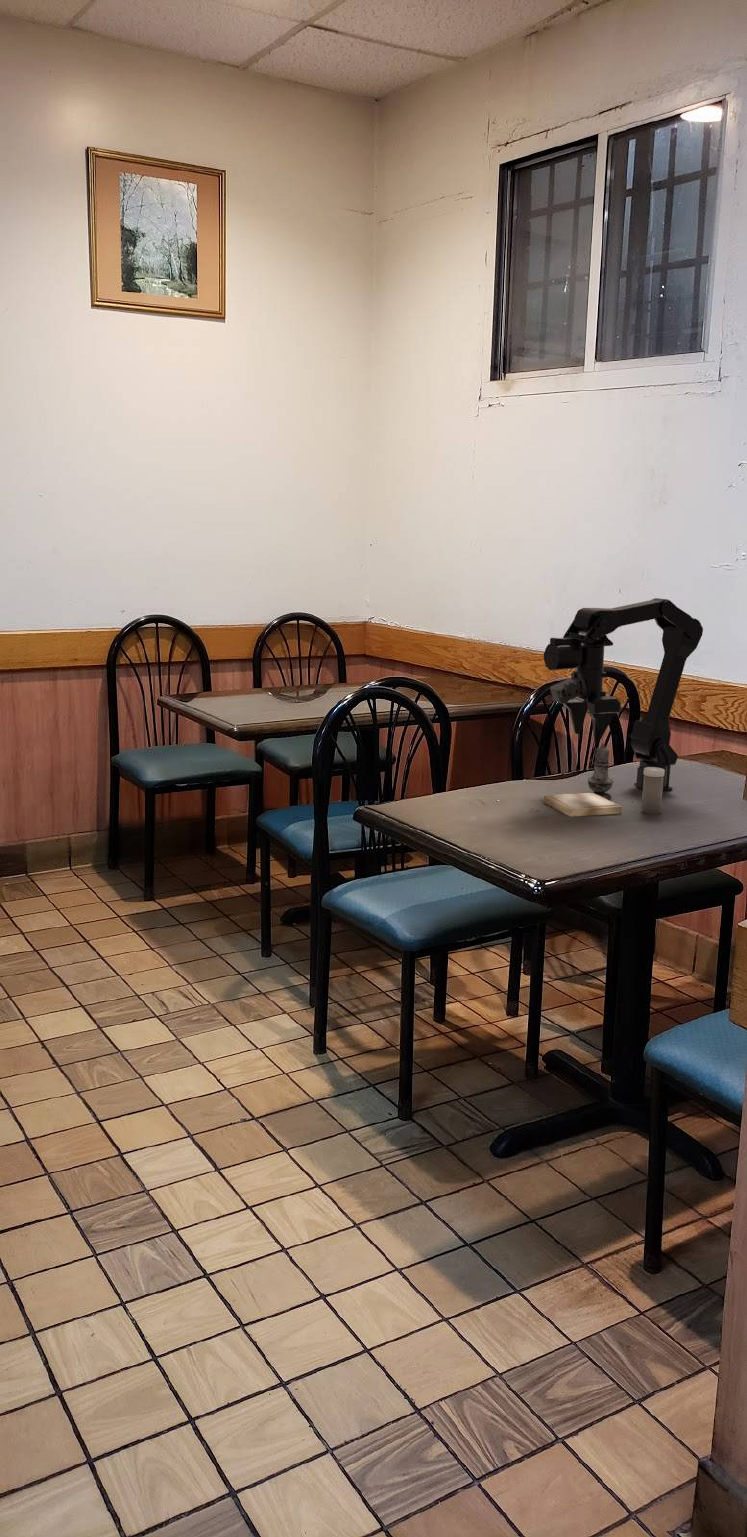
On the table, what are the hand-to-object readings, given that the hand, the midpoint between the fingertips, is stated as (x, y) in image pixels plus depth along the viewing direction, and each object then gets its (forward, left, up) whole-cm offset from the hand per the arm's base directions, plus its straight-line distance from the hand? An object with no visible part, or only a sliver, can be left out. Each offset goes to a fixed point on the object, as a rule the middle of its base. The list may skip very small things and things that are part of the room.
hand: (586, 737), depth 259 cm
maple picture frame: (+6, +10, -13) cm, 18 cm away
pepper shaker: (-7, +16, -13) cm, 22 cm away
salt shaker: (-3, +1, -13) cm, 14 cm away
